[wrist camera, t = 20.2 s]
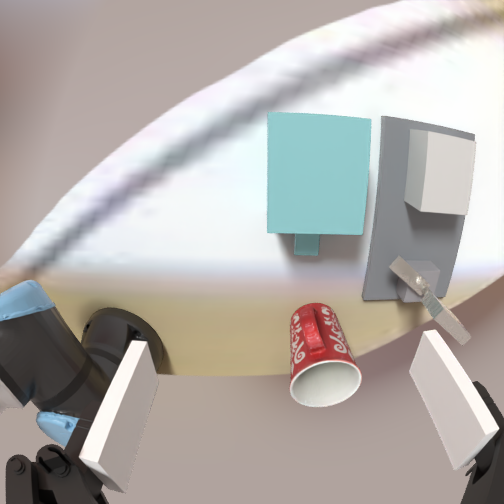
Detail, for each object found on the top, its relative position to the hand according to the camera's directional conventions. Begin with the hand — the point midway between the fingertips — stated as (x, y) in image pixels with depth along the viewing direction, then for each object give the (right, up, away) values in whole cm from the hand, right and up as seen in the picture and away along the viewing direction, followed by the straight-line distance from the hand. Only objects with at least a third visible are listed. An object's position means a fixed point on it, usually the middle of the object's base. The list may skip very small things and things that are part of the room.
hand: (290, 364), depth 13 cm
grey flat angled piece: (+21, +1, +24) cm, 32 cm away
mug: (+7, -4, +32) cm, 33 cm away
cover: (+5, +14, +24) cm, 29 cm away
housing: (+22, +10, +25) cm, 35 cm away
